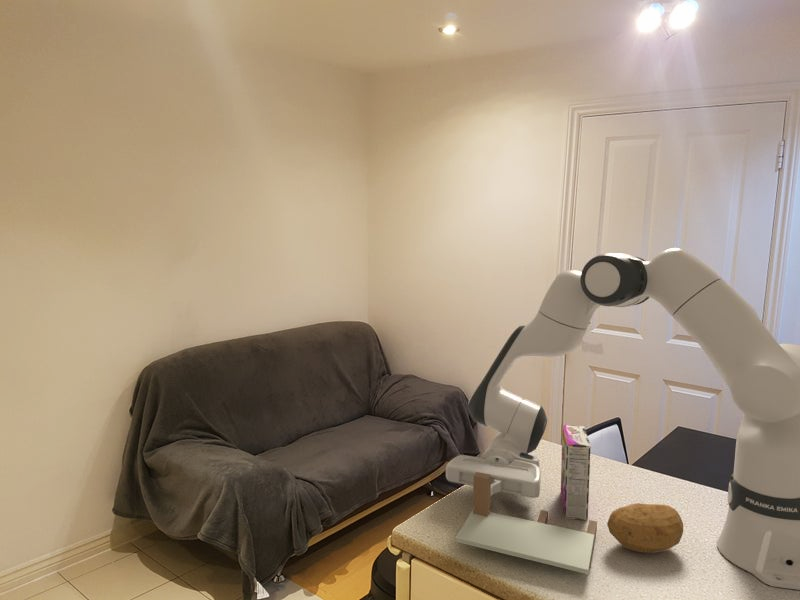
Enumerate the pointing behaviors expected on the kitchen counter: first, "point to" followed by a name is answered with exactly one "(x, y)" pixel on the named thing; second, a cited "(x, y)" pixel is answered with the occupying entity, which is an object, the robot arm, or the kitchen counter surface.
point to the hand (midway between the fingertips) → (483, 492)
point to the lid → (523, 534)
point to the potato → (646, 527)
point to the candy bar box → (575, 471)
